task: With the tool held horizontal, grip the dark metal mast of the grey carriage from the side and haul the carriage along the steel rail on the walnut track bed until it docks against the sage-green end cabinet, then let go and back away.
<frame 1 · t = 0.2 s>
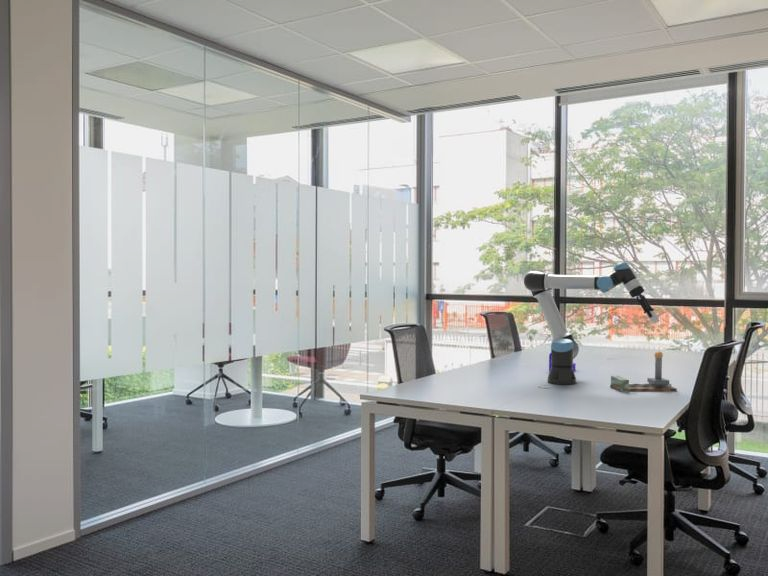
hand: (656, 322, 364), 34 cm above the table, tool tilted 30°, fingers open, 13 cm apart
track bed: (642, 389, 355), on the table
bracket: (565, 371, 418), on the table
carriage: (658, 368, 355), point 11 cm above the table, slide at 0.0 cm
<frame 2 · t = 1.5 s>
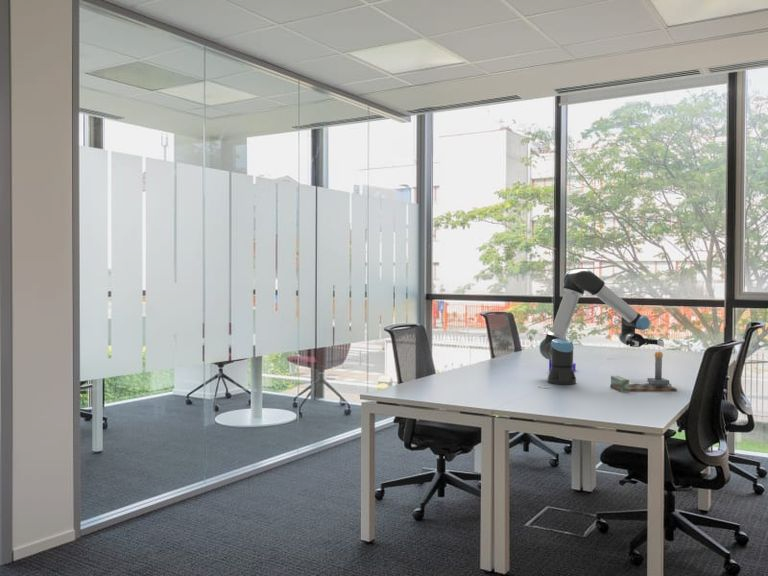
hand: (650, 344, 363), 23 cm above the table, tool horizontal, fingers open, 13 cm apart
nothing on the table moved.
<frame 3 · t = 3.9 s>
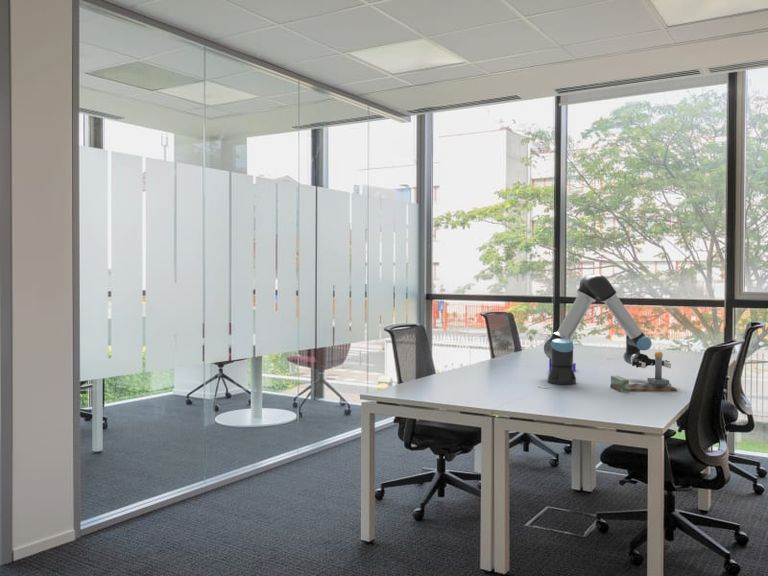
hand: (657, 365, 357), 12 cm above the table, tool horizontal, fingers open, 13 cm apart
nothing on the table moved.
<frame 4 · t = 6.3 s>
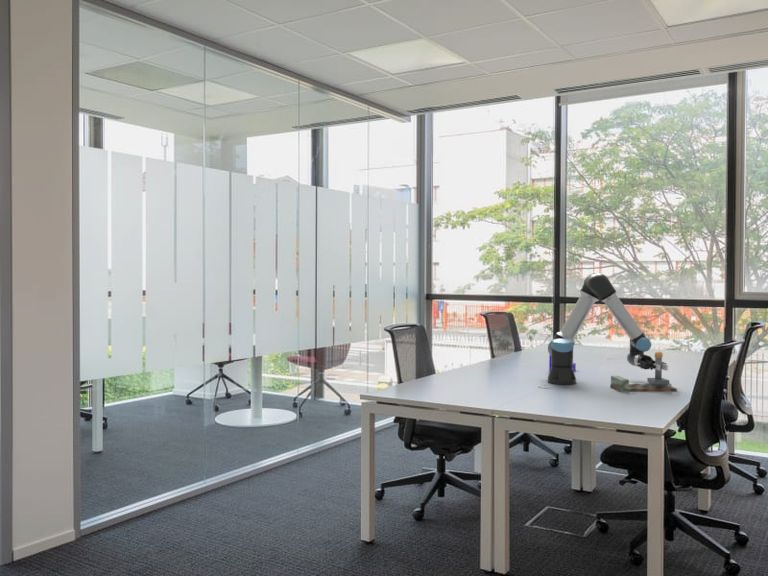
hand: (663, 367, 349), 12 cm above the table, tool horizontal, fingers closed on carriage, 3 cm apart
carriage: (658, 368, 355), point 11 cm above the table, slide at 0.0 cm, touching gripper
everything else where it was.
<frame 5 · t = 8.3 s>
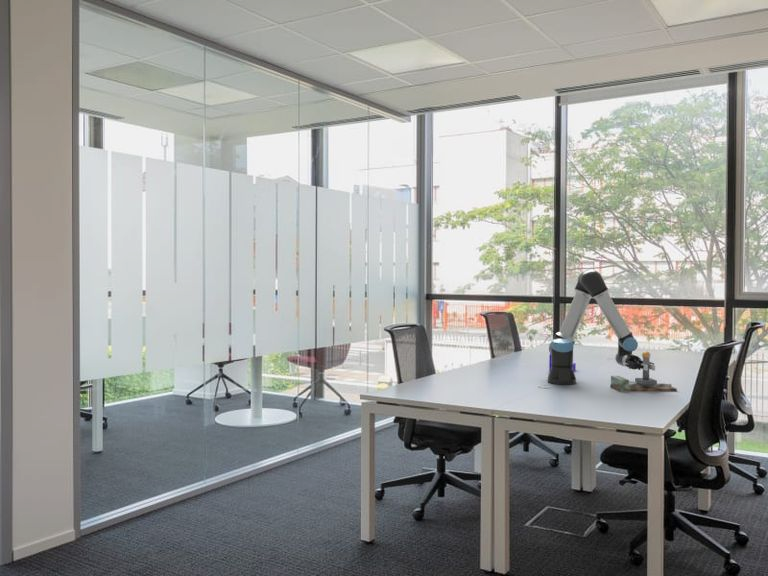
hand: (650, 367, 349), 12 cm above the table, tool horizontal, fingers closed on carriage, 3 cm apart
carriage: (646, 368, 354), point 11 cm above the table, slide at 6.6 cm, touching gripper
everything else where it was.
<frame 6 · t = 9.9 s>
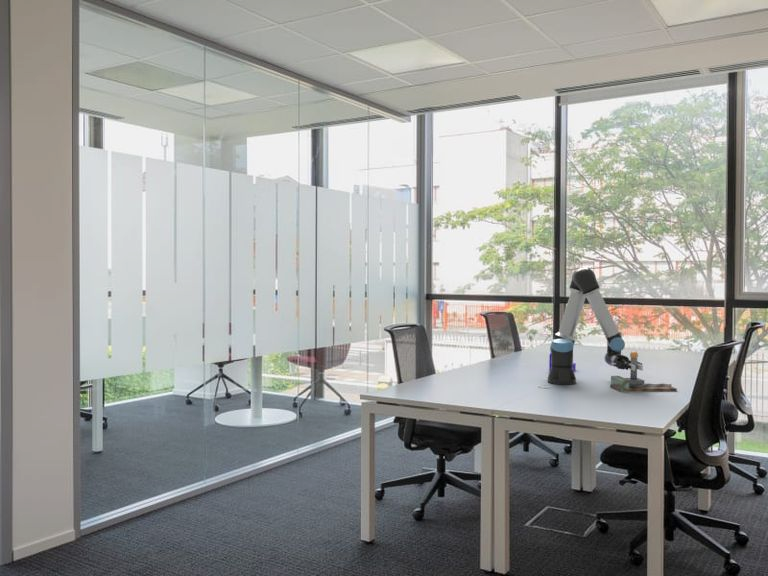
hand: (638, 367, 348), 12 cm above the table, tool horizontal, fingers closed on carriage, 3 cm apart
carriage: (633, 368, 354), point 11 cm above the table, slide at 13.0 cm, touching gripper
everything else where it was.
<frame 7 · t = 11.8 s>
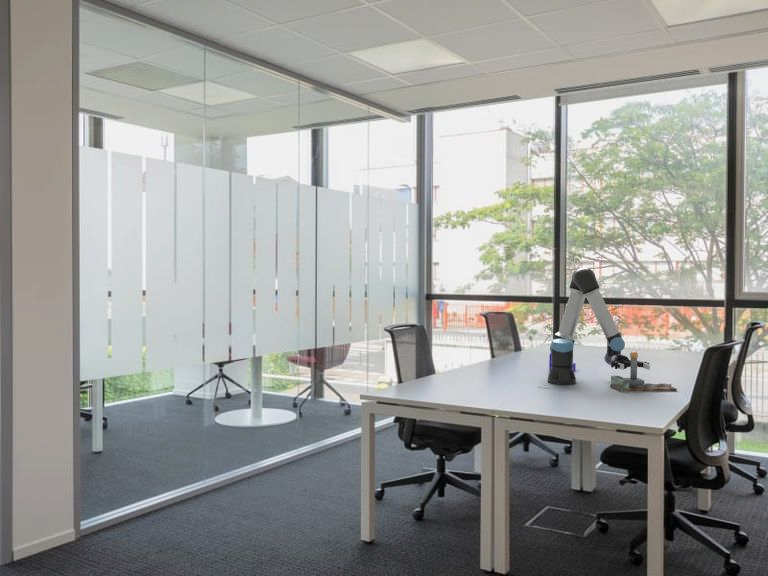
hand: (636, 367, 351), 12 cm above the table, tool horizontal, fingers open, 13 cm apart
carriage: (633, 368, 354), point 11 cm above the table, slide at 13.0 cm
everything else where it was.
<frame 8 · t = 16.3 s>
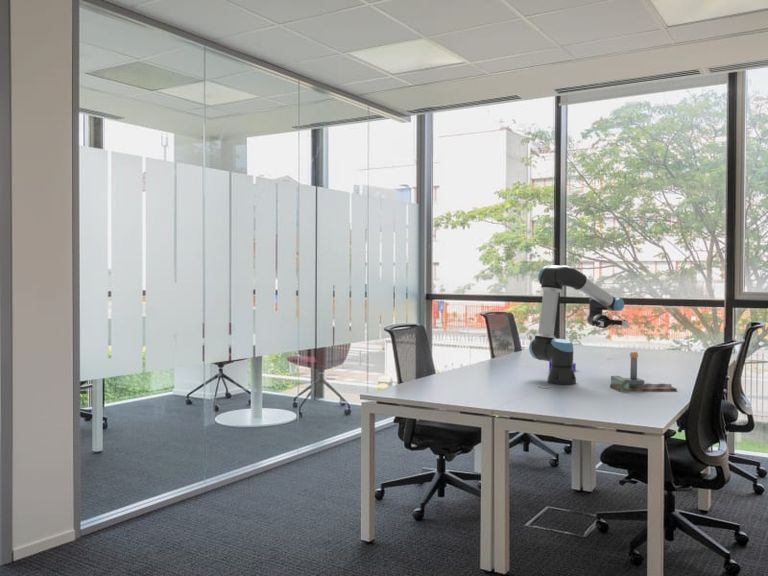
hand: (615, 324, 377), 32 cm above the table, tool horizontal, fingers open, 13 cm apart
nothing on the table moved.
at the end: carriage slide at 13.0 cm; the gripper is holding nothing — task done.
